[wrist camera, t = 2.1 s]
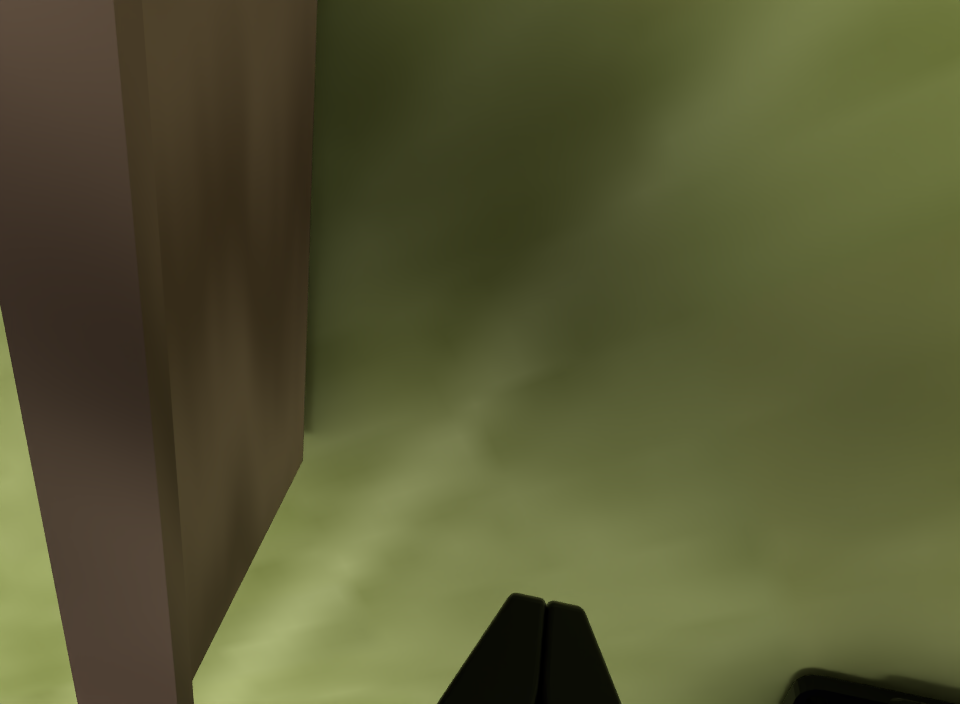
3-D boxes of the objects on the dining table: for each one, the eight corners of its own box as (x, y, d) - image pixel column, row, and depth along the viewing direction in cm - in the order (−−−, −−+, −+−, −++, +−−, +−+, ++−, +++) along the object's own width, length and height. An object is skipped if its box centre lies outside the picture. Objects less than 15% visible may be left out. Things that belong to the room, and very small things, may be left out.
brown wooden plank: (311, 462, 19) (180, 733, 13) (222, 443, 19) (53, 705, 13) (343, -335, 11) (69, -472, 6) (193, -359, 11) (-214, -515, 6)
